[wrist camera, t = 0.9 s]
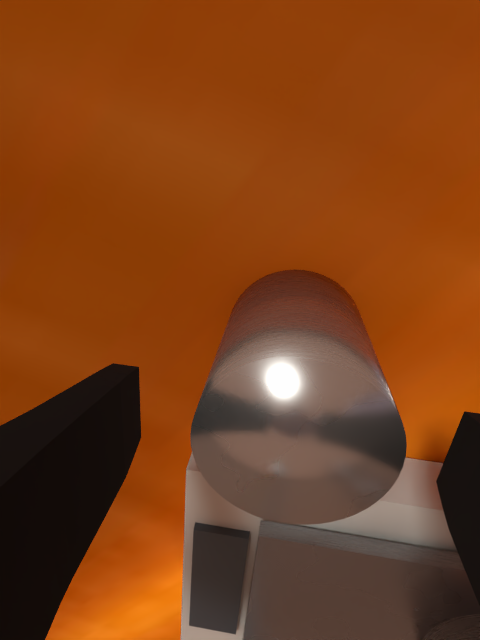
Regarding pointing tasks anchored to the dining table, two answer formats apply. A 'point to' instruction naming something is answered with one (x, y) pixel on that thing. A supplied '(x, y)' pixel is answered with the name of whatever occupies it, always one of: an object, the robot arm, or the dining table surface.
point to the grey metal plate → (350, 587)
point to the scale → (243, 528)
